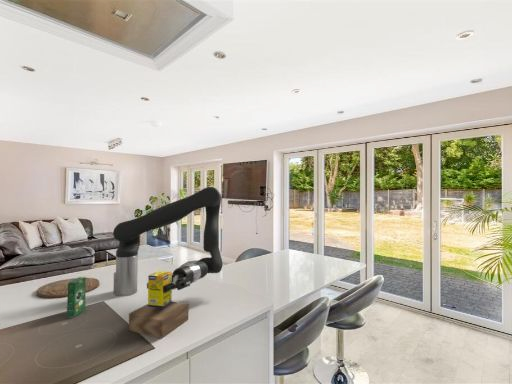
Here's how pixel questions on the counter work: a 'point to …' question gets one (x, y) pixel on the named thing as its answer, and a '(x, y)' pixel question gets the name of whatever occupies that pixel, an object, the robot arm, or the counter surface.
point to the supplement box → (159, 289)
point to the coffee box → (76, 297)
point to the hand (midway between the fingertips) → (155, 287)
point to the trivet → (63, 288)
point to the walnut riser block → (158, 319)
